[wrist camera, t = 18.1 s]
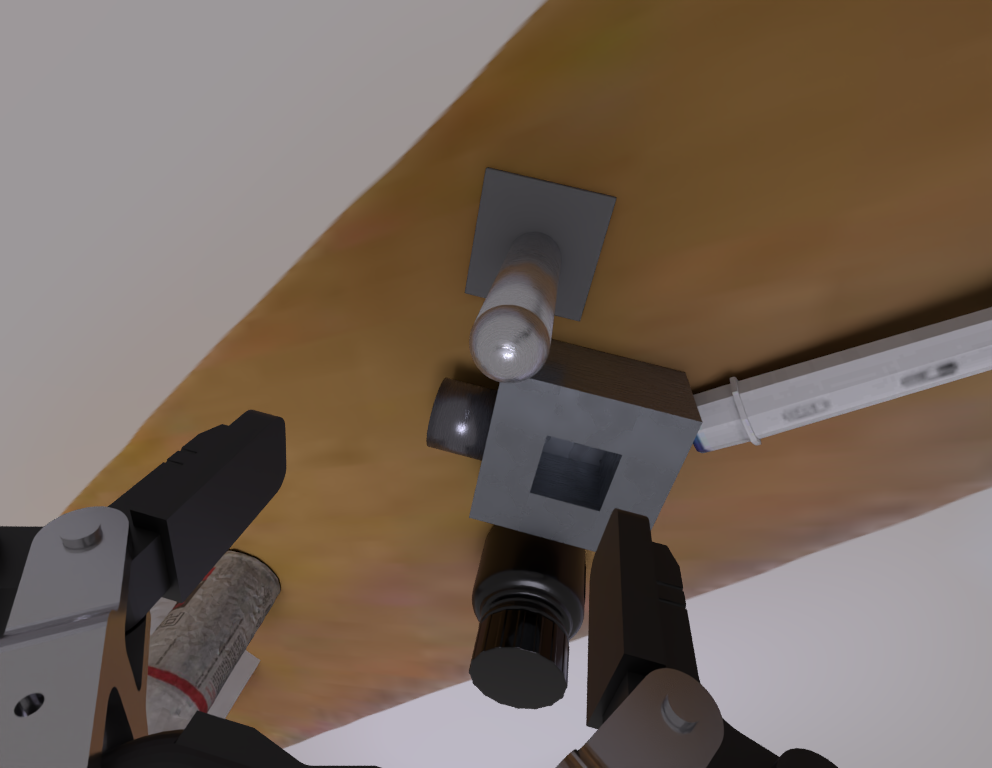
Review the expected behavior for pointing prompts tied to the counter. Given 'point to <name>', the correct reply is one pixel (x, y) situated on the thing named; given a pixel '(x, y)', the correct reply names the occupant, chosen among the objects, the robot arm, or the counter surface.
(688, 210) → the counter surface
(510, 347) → the grey metal cylinder
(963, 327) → the white elongated piece
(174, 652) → the spray can
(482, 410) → the block
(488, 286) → the key rest mat
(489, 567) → the ink bottle
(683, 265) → the counter surface
